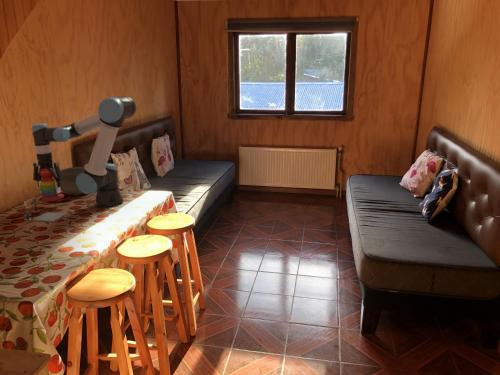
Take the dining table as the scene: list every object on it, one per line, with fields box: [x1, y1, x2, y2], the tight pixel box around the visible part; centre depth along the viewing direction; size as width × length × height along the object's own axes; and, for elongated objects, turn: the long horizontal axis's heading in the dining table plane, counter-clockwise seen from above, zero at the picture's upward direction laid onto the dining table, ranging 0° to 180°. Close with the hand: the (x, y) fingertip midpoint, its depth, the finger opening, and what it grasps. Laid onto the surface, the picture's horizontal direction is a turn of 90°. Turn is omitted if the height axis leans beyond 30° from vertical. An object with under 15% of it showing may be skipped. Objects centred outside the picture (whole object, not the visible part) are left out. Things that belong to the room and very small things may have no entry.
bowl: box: [60, 166, 85, 196], centre depth 260 cm, size 21×21×15 cm
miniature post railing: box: [23, 196, 41, 222], centre depth 221 cm, size 8×16×9 cm, turn 170°
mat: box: [31, 211, 68, 223], centre depth 220 cm, size 12×12×1 cm
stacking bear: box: [39, 168, 65, 202], centre depth 233 cm, size 11×10×18 cm
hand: (50, 192), depth 234 cm, fingers closed on stacking bear, 9 cm apart
